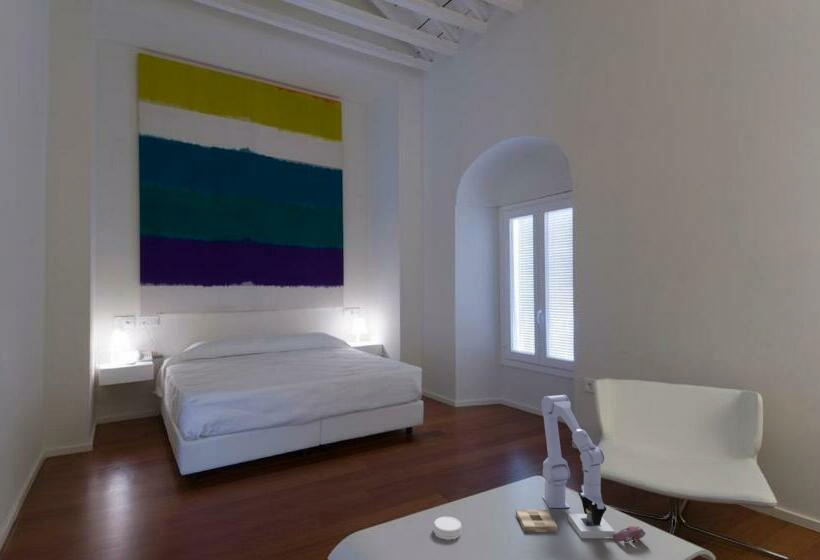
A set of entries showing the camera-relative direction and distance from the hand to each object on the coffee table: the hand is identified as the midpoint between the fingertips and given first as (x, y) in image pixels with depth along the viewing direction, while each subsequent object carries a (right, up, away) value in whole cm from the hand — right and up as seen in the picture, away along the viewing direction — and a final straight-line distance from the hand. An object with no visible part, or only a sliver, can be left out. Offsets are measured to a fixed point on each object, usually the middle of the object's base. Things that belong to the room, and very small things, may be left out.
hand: (592, 519), depth 161 cm
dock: (-1, -4, 0) cm, 4 cm away
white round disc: (-53, -3, -3) cm, 54 cm away
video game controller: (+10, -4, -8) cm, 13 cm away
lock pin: (0, -4, 0) cm, 4 cm away
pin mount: (-20, -4, +4) cm, 20 cm away
